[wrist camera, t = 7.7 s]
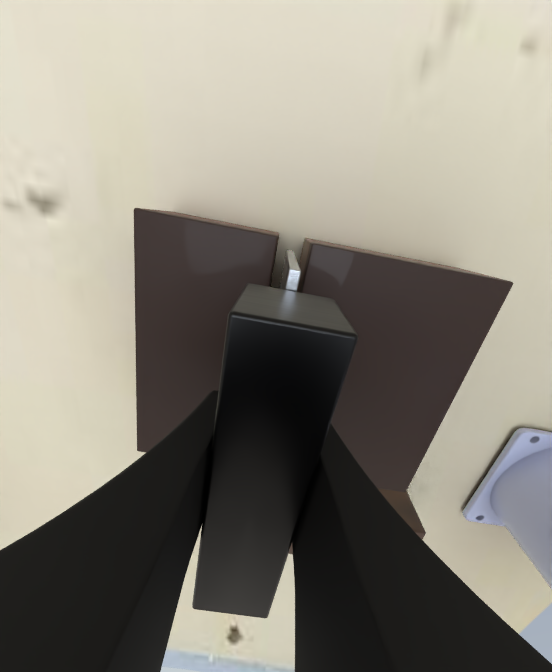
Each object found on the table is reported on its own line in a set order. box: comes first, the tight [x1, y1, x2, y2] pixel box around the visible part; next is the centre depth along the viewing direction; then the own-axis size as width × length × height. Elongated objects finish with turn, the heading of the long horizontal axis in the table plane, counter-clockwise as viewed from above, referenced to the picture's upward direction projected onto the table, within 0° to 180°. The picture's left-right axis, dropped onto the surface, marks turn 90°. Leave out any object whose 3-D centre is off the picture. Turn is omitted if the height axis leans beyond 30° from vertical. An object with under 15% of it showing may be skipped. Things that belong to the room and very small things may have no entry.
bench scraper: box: [192, 249, 358, 618], centre depth 10 cm, size 10×2×8 cm, turn 170°
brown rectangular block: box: [134, 208, 279, 452], centre depth 13 cm, size 5×11×4 cm, turn 170°
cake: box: [297, 238, 513, 492], centre depth 13 cm, size 8×11×4 cm
